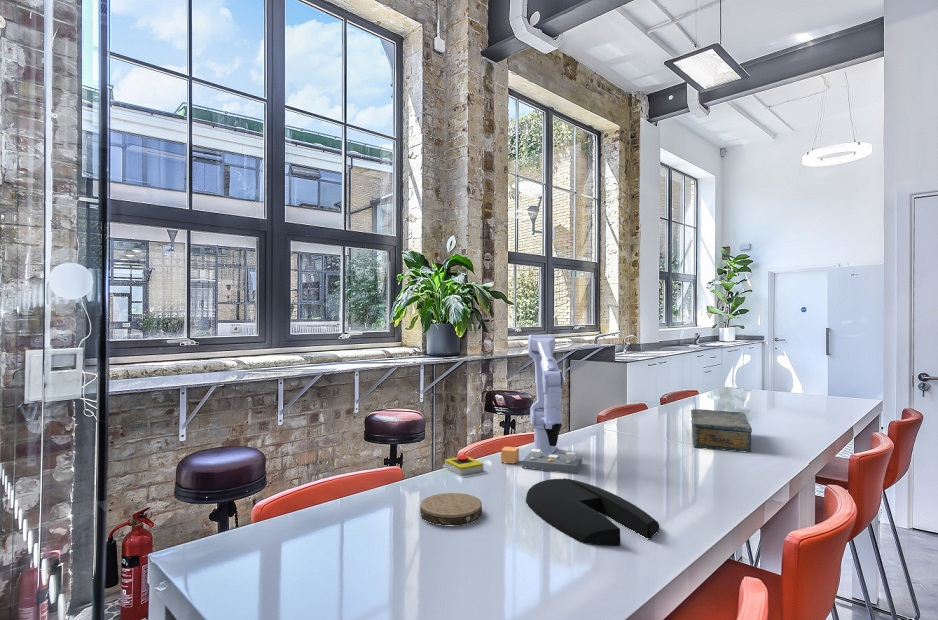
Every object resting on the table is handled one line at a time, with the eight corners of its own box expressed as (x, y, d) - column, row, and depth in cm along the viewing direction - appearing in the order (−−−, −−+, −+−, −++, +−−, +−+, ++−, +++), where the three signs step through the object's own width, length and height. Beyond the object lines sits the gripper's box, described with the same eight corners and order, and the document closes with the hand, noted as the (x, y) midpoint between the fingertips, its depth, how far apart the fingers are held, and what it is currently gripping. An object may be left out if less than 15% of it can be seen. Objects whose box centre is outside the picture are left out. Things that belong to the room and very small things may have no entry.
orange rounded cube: (505, 459, 185) (505, 446, 185) (519, 460, 183) (518, 447, 183) (501, 462, 180) (501, 449, 180) (515, 464, 179) (515, 451, 179)
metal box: (745, 435, 221) (744, 411, 221) (753, 454, 191) (753, 427, 191) (690, 431, 229) (690, 408, 229) (690, 448, 199) (690, 422, 199)
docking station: (580, 484, 159) (579, 467, 159) (678, 536, 121) (677, 514, 121) (506, 494, 150) (506, 477, 150) (587, 554, 112) (587, 531, 112)
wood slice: (408, 513, 135) (408, 502, 136) (456, 499, 146) (455, 488, 146) (445, 533, 123) (445, 520, 123) (494, 516, 134) (494, 504, 134)
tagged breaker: (549, 463, 179) (549, 454, 179) (558, 464, 178) (558, 455, 178) (547, 465, 177) (547, 456, 177) (556, 466, 176) (556, 457, 176)
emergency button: (464, 451, 182) (488, 461, 169) (465, 463, 182) (488, 474, 169) (441, 454, 177) (463, 465, 164) (441, 467, 177) (463, 479, 164)
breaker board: (531, 458, 185) (530, 446, 185) (582, 463, 179) (581, 450, 179) (522, 468, 174) (522, 454, 174) (576, 473, 168) (576, 459, 168)
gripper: (545, 401, 186) (546, 439, 186) (536, 409, 172) (536, 449, 172) (565, 402, 183) (565, 441, 183) (557, 410, 170) (557, 451, 170)
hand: (553, 445), depth 178 cm, fingers closed
